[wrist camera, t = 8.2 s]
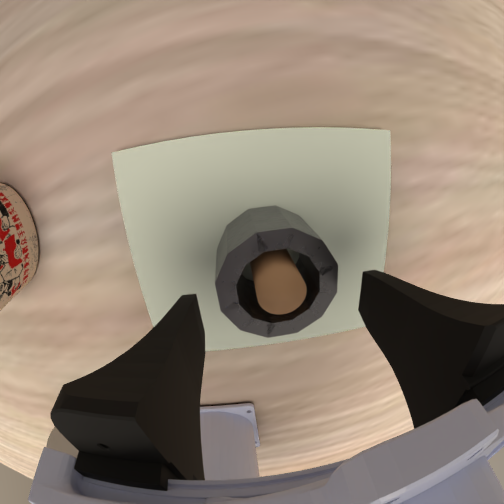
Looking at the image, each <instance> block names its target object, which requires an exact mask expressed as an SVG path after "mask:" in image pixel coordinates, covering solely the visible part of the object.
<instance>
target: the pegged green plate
mask: <svg viewBox="0 0 504 504" xmlns="http://www.w3.org/2000/svg"><path fill="white" fill-rule="evenodd" d="M112 159H113V166H114V173H115V179H116V185H117V191H118V196H119V201H120V206H121V211H122V216H123V221H124V225H125V230H126V234H127V238H128V243H129V247H130V251H131V255H132V258H133V262H134V266H135V270H136V273H137V277H138V280H139V284H140V287H141V290H142V294H143V297H144V300H145V303H146V306H147V309H148V312H149V315H150V318H151V321H152V324H153V327H154V326H155V325H156V324H157V323H158V322H159V321H160V320H161V319H162V318H163V317H164V316H165V314H166V313H167V312H168V311H169V310H170V309H171V307H172V306H173V305H174V304H175V303H176V301H177V300H178V299H179V298H180V297H181V296H182V295H188V294H196V295H197V299H198V304H199V308H200V313H201V317H202V322H203V326H204V330H205V351H217V350H227V349H237V348H245V347H254V346H261V345H269V344H276V343H283V342H289V341H295V340H301V339H307V338H313V337H318V336H324V335H329V334H334V333H339V332H344V331H348V330H353V329H357V328H362V327H366V326H365V324H364V322H363V320H362V318H361V315H360V313H359V311H358V307H359V299H360V291H361V282H362V273H363V271H369V270H377V271H381V272H383V273H384V265H385V257H386V248H387V238H388V227H389V212H390V192H391V139H390V130H379V129H364V128H337V127H301V128H274V129H258V130H245V131H235V132H225V133H216V134H208V135H201V136H194V137H187V138H181V139H175V140H169V141H163V142H158V143H153V144H148V145H143V146H138V147H134V148H129V149H125V150H121V151H117V152H113V153H112ZM274 205H276V206H278V207H281V208H283V209H286V210H288V211H290V212H293V213H295V214H297V215H299V216H300V217H301V218H302V219H303V220H304V221H305V222H306V223H307V224H308V225H309V226H310V227H311V228H312V229H313V230H314V231H315V233H316V234H317V235H318V236H319V237H320V238H321V239H322V240H323V242H324V243H325V245H326V246H327V248H328V249H329V251H330V253H331V254H332V256H333V257H334V259H335V260H336V262H337V264H338V284H337V293H336V295H335V297H334V298H333V300H332V302H331V303H330V305H329V306H328V308H327V310H326V311H325V313H324V314H323V316H322V317H321V318H319V319H318V320H316V321H315V322H313V323H312V324H310V325H309V326H307V327H306V328H304V329H303V330H301V331H299V332H298V333H294V334H288V335H282V336H276V337H270V338H267V337H263V336H259V335H255V334H252V333H248V332H244V331H241V330H240V329H238V328H237V327H236V326H235V325H234V324H233V323H232V322H231V321H230V320H229V319H228V318H227V317H226V316H225V315H224V314H223V313H222V312H221V311H220V306H219V301H218V296H217V292H216V287H215V270H216V254H217V247H218V245H219V242H220V240H221V237H222V235H223V233H224V230H225V228H226V225H227V224H229V223H230V222H231V221H233V220H234V219H235V218H237V217H238V216H239V215H241V214H242V213H243V212H245V211H246V210H247V209H251V208H258V207H266V206H274ZM298 259H299V252H296V251H294V250H291V249H288V248H287V249H280V250H273V251H266V252H263V253H262V254H261V255H259V256H258V257H256V258H255V259H254V260H252V261H251V262H249V263H248V264H247V265H245V267H244V269H243V271H242V274H243V275H244V277H245V278H246V279H249V280H252V281H254V285H255V290H256V295H257V300H258V303H259V305H260V306H261V307H262V308H263V309H264V310H265V311H267V312H269V313H272V314H279V315H280V314H286V313H289V312H292V311H294V310H295V309H297V308H298V307H299V306H300V305H301V304H302V302H303V301H304V299H305V297H306V292H307V289H306V284H305V282H304V280H303V278H302V276H301V274H300V273H299V271H298V269H297V267H296V265H295V264H296V262H297V260H298Z"/></svg>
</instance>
